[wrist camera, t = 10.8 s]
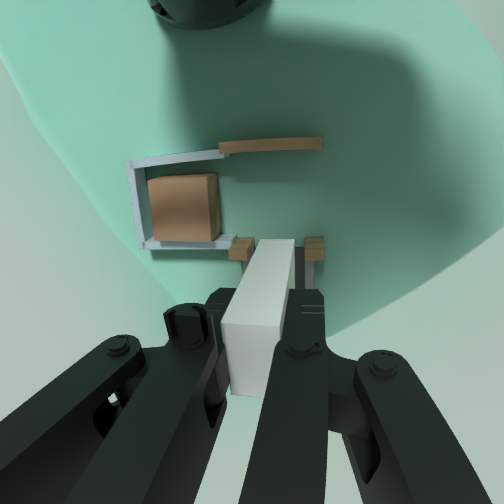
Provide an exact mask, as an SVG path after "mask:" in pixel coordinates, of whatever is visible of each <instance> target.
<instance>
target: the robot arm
mask: <svg viewBox="0 0 504 504" xmlns="http://www.w3.org/2000/svg"><path fill="white" fill-rule="evenodd" d="M147 1H148V3H149V5H150V7H151V8H152V10H153V11H154V12H155V13H156V14H157V15H158V16H159V17H161V18H162V19H164V20H165V21H167V22H168V23H170V24H172V25H174V26H177V27H180V28H184V29H192V30H202V29H210V28H215V27H219V26H223V25H226V24H229V23H231V22H233V21H236V20H238V19H240V18H241V17H243V16H245V15H246V14H248V13H249V12H251V11H252V10H253V9H254V8H255V7H257V6H258V5H259V4H260V3H261V1H262V0H147ZM163 315H164V320H165V324H166V328H167V332H168V336H169V340H168V342H167V343H166V345H165V346H162V347H152V348H142V347H141V344H140V342H139V340H138V339H137V338H136V337H134V336H131V335H117V336H114V337H110V338H109V339H107V340H105V341H104V342H102V343H101V344H100V345H98V346H97V347H96V348H94V349H93V350H92V351H90V352H89V353H88V354H86V355H85V356H84V357H82V358H81V359H80V360H79V361H77V362H76V363H75V364H73V365H72V366H71V367H70V368H69V369H67V370H66V371H64V372H63V373H62V374H60V375H59V376H58V377H57V378H55V379H54V380H53V381H51V382H50V383H49V384H48V385H46V386H45V387H44V388H42V389H41V390H40V391H38V392H37V393H36V394H35V395H33V396H32V397H31V398H30V399H28V400H27V401H26V402H24V403H23V404H22V405H21V406H19V407H18V408H17V409H16V410H14V411H13V412H12V413H11V414H9V415H8V416H7V417H6V418H4V419H3V420H2V421H0V504H194V501H195V498H196V495H197V493H198V490H199V487H200V484H201V482H202V478H203V476H204V473H205V470H206V467H207V464H208V461H209V459H210V455H211V452H212V450H213V447H214V444H215V441H216V438H217V435H218V432H219V429H220V426H221V423H222V420H223V417H224V414H225V411H226V408H227V399H226V392H227V389H228V386H229V384H230V390H231V394H232V395H241V396H251V397H262V398H264V401H263V404H262V409H261V413H260V418H259V422H258V427H257V431H256V435H255V440H254V443H253V448H252V451H251V456H250V460H249V464H248V468H247V472H246V476H245V480H244V483H243V487H242V491H241V495H240V498H239V503H238V504H324V499H325V486H326V469H327V447H328V446H327V445H328V430H330V431H333V432H337V433H341V434H342V438H343V441H344V444H345V447H346V450H347V453H348V457H349V460H350V463H351V466H352V469H353V472H354V475H355V479H356V482H357V485H358V488H359V491H360V495H361V498H362V501H363V504H492V503H491V500H490V499H489V497H488V495H487V493H486V491H485V489H484V487H483V485H482V483H481V481H480V479H479V477H478V476H477V474H476V472H475V470H474V468H473V467H472V465H471V463H470V461H469V459H468V458H467V456H466V454H465V453H464V451H463V449H462V447H461V446H460V444H459V442H458V440H457V439H456V437H455V435H454V434H453V432H452V430H451V429H450V427H449V425H448V424H447V422H446V420H445V419H444V417H443V416H442V414H441V412H440V411H439V409H438V408H437V406H436V404H435V403H434V401H433V400H432V398H431V397H430V395H429V394H428V392H427V390H426V389H425V388H424V386H423V384H422V383H421V381H420V380H419V378H418V377H417V375H416V374H415V372H414V371H413V369H412V368H411V367H410V365H409V364H408V362H407V361H406V360H405V359H404V358H403V357H402V356H401V355H399V354H397V353H394V352H392V351H387V350H374V351H370V352H367V353H365V354H364V355H362V356H361V357H360V358H359V359H358V361H355V360H351V359H346V358H343V357H340V356H338V355H336V354H334V353H333V352H332V351H331V350H330V349H329V348H328V346H327V345H326V340H325V315H324V296H323V295H322V294H321V293H320V292H319V290H318V289H295V247H294V239H261V240H260V242H259V244H258V246H257V248H256V250H255V252H254V254H253V256H252V258H251V260H250V262H249V264H248V266H247V269H246V271H245V273H244V275H243V277H242V279H241V281H240V283H239V285H238V287H237V288H219V289H218V290H216V291H215V292H213V293H212V294H211V295H210V296H209V298H208V299H207V301H206V303H205V304H204V305H203V304H199V303H184V304H180V305H176V306H174V307H172V308H170V309H168V310H167V311H166V312H165V313H163ZM113 393H115V395H116V397H117V399H118V400H117V401H115V402H113V403H110V402H109V400H108V397H109V396H111V395H112V394H113Z"/></svg>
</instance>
